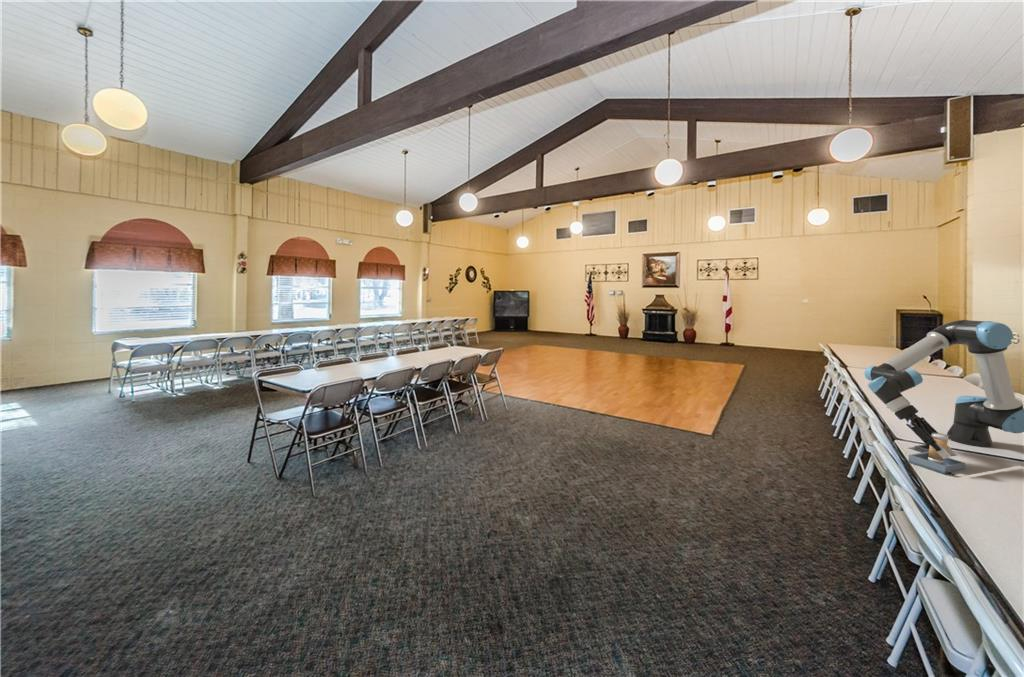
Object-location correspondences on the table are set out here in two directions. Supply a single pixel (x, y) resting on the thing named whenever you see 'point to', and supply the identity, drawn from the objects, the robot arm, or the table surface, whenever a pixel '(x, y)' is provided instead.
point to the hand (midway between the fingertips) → (949, 456)
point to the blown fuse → (933, 455)
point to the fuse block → (923, 448)
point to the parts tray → (922, 461)
